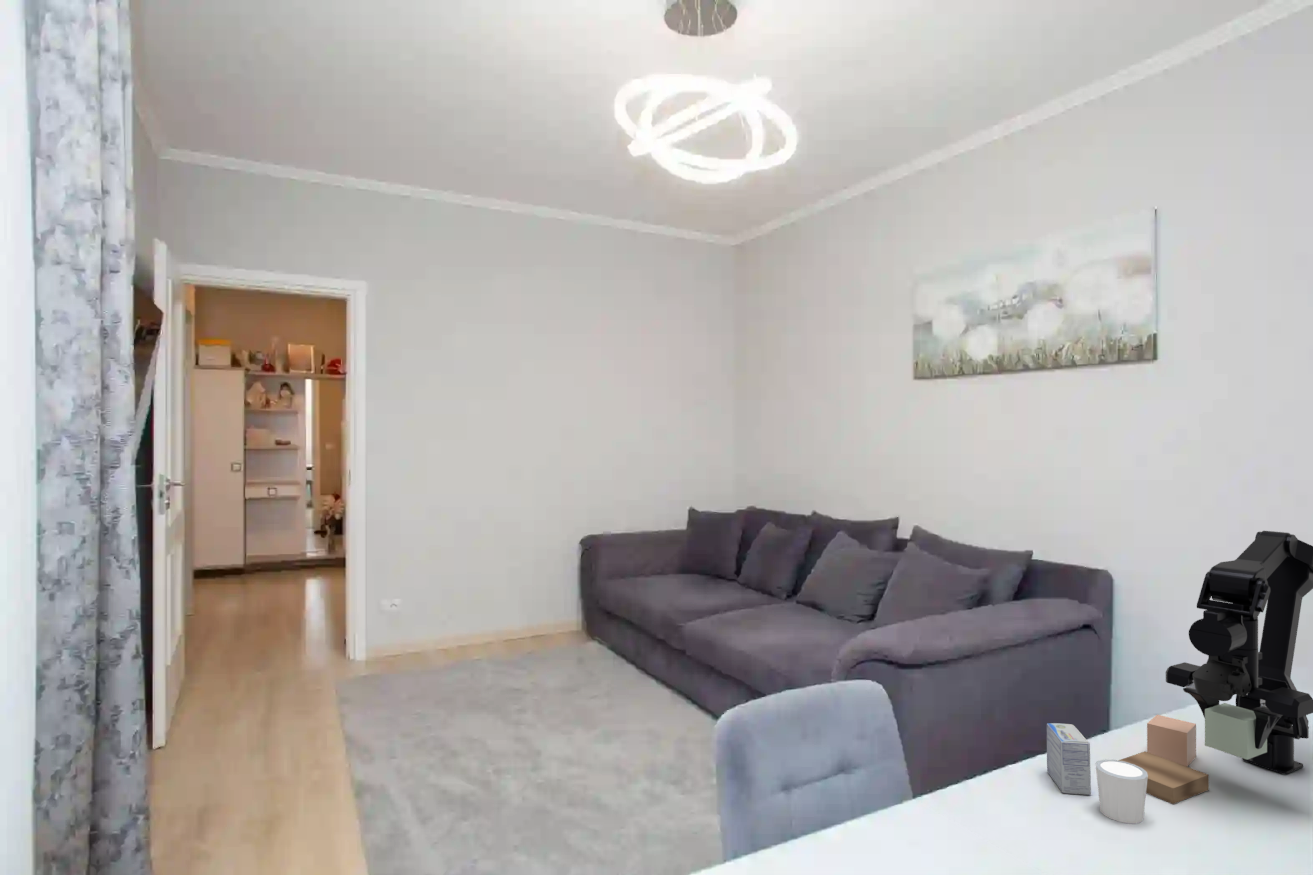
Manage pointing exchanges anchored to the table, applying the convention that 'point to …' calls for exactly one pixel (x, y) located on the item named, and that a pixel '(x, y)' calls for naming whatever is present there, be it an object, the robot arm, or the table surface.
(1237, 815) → the table surface
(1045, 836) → the table surface
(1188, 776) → the walnut block
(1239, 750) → the sage cube
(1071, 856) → the table surface
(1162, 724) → the clay cube
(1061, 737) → the medicine box
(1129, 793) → the white tapered cylinder
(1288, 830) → the table surface
